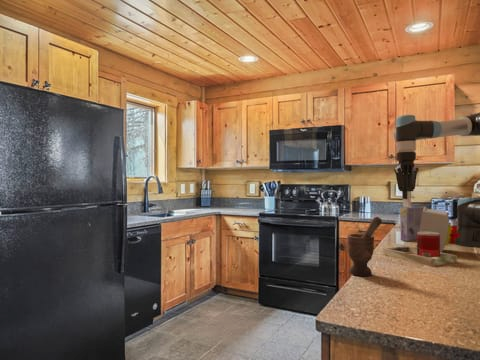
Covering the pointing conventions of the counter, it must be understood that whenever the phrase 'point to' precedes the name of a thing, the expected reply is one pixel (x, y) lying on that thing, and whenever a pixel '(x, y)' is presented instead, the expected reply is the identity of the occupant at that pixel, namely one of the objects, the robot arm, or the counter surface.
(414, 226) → the cake pan box
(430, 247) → the canned food
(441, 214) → the electrical switch box
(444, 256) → the slot frame
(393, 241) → the counter surface
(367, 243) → the mortar and pestle
